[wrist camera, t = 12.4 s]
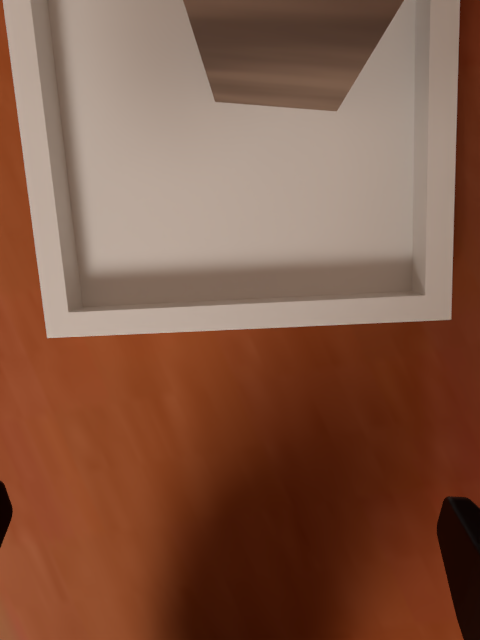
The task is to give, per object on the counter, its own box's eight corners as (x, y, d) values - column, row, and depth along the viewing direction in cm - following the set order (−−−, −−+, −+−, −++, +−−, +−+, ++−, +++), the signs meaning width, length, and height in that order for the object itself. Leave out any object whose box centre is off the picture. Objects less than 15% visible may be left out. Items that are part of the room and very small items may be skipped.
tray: (427, 310, 20) (451, 320, 17) (72, 326, 21) (47, 338, 18) (436, -168, 17) (466, -239, 14) (17, -127, 17) (-22, -187, 15)
